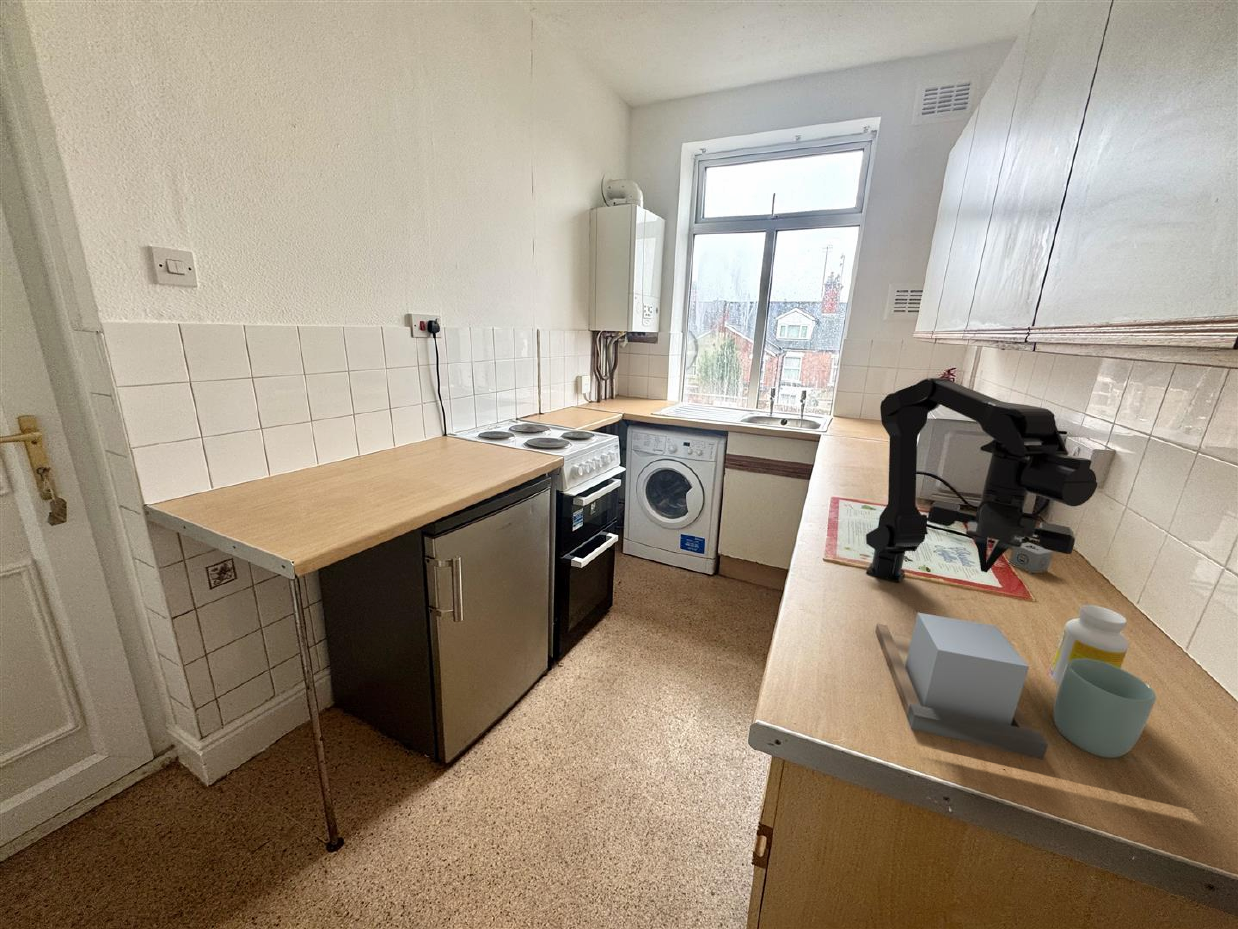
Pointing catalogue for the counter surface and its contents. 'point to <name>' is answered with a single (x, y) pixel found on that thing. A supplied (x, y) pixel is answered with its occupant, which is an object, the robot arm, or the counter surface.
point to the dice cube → (1031, 557)
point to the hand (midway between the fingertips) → (983, 571)
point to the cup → (1101, 707)
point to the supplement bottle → (1091, 639)
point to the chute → (950, 724)
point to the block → (965, 668)
